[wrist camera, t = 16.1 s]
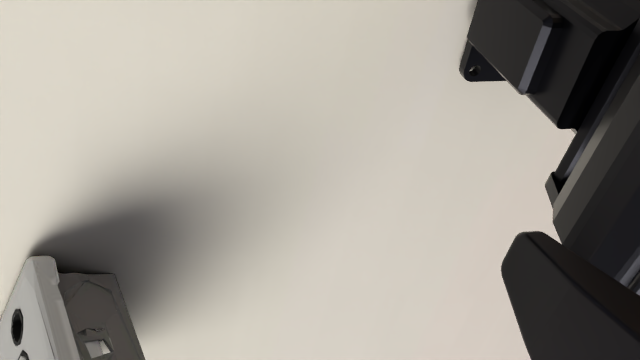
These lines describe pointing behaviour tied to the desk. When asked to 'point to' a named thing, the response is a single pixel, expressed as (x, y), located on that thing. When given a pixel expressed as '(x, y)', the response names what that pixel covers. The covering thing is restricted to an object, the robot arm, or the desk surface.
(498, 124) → the desk surface
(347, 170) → the desk surface
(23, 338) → the electrical switch
